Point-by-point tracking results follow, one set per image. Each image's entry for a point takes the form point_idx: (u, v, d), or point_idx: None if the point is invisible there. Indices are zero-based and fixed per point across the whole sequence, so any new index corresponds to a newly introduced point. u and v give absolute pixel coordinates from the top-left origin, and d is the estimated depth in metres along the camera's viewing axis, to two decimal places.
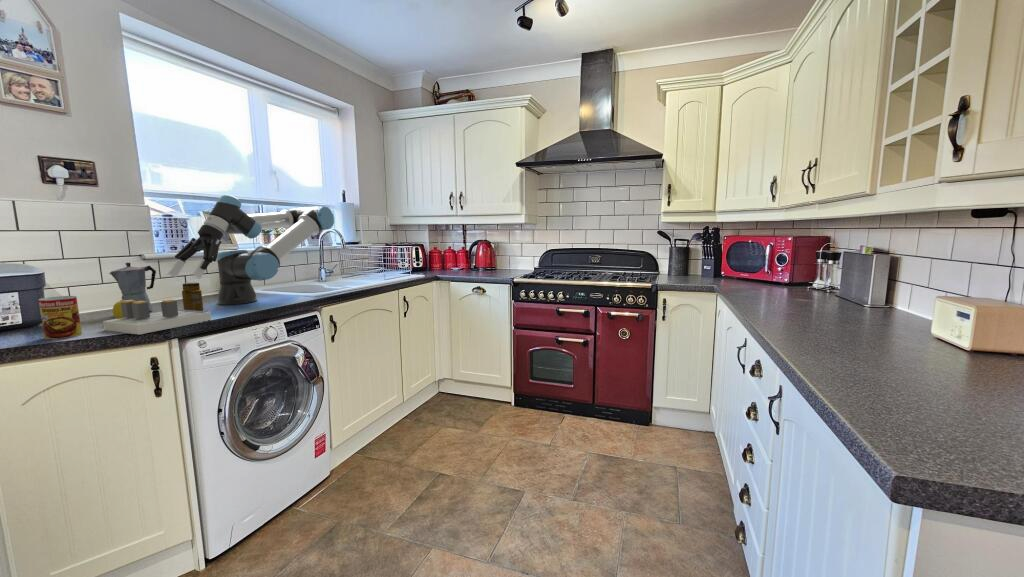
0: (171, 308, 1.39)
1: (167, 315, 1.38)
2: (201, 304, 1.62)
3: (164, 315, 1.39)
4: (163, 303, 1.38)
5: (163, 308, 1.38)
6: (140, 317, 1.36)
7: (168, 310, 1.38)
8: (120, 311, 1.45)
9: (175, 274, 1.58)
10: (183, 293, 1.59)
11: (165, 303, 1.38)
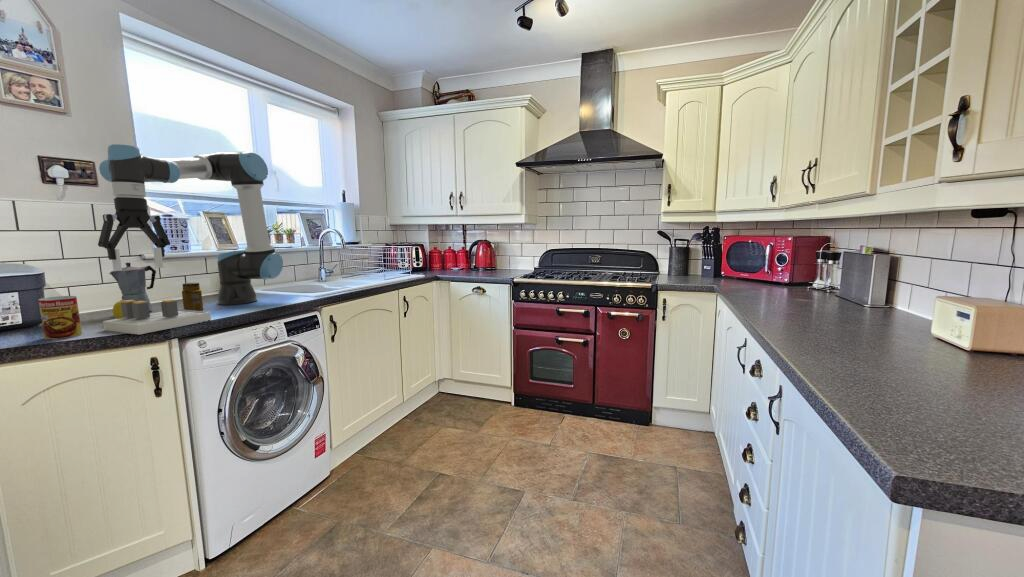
0: (171, 308, 1.39)
1: (167, 315, 1.38)
2: (201, 304, 1.62)
3: (164, 315, 1.39)
4: (163, 303, 1.38)
5: (163, 308, 1.38)
6: (140, 317, 1.36)
7: (168, 310, 1.38)
8: (120, 311, 1.45)
9: None
10: (183, 293, 1.59)
11: (165, 303, 1.38)
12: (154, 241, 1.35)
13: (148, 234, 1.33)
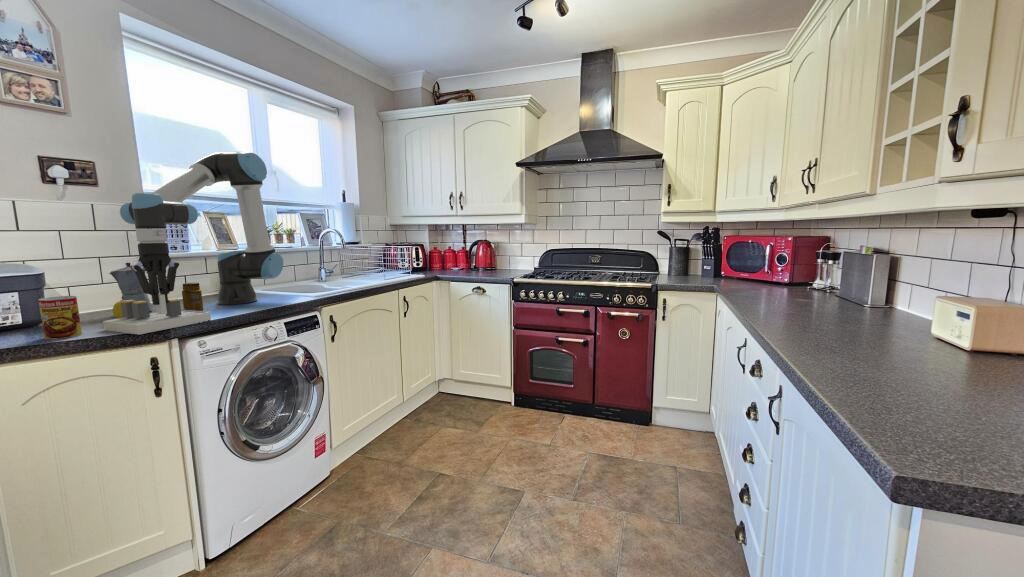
0: (175, 308, 1.40)
1: (170, 314, 1.39)
2: (201, 304, 1.62)
3: (167, 314, 1.40)
4: (166, 303, 1.39)
5: (166, 307, 1.39)
6: (140, 317, 1.36)
7: (171, 310, 1.39)
8: (120, 311, 1.45)
9: None
10: (183, 293, 1.59)
11: (168, 303, 1.39)
12: (161, 286, 1.37)
13: (159, 278, 1.37)
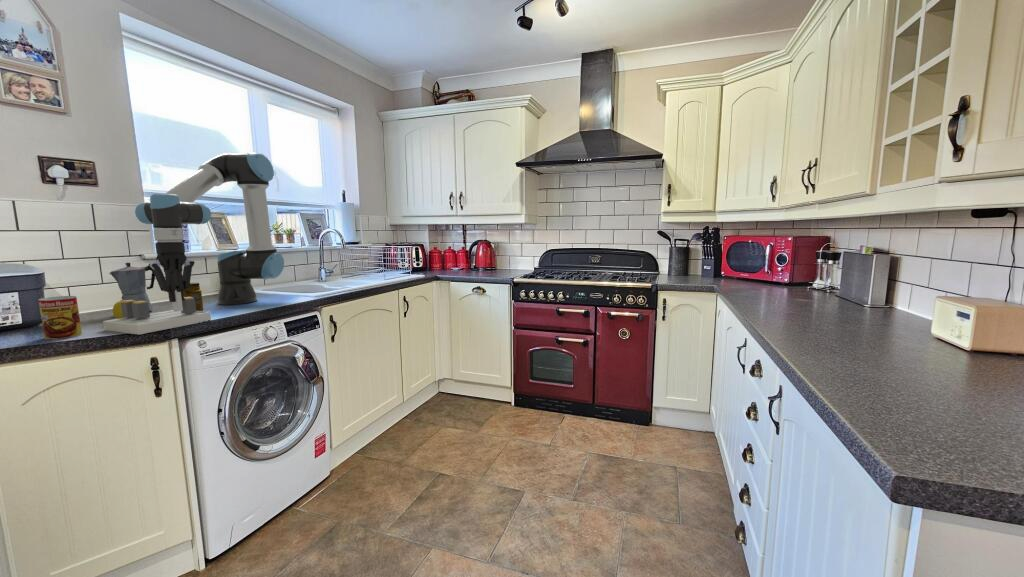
0: (190, 305, 1.44)
1: (186, 312, 1.43)
2: (201, 304, 1.62)
3: (183, 312, 1.44)
4: None
5: (182, 305, 1.44)
6: (140, 317, 1.36)
7: (186, 307, 1.43)
8: (120, 311, 1.45)
9: None
10: (183, 293, 1.59)
11: (184, 300, 1.43)
12: (177, 284, 1.41)
13: (176, 276, 1.41)
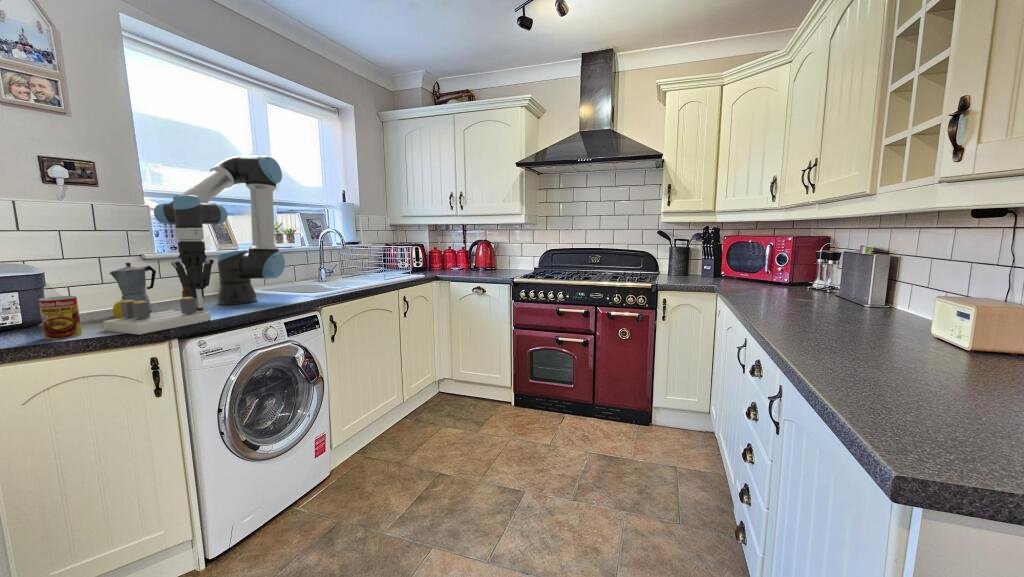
0: (190, 305, 1.44)
1: (186, 312, 1.43)
2: None
3: (183, 312, 1.44)
4: (182, 300, 1.43)
5: (182, 305, 1.44)
6: (140, 317, 1.36)
7: (186, 307, 1.43)
8: (120, 311, 1.45)
9: None
10: (183, 293, 1.59)
11: (184, 300, 1.43)
12: (197, 281, 1.47)
13: (196, 274, 1.47)
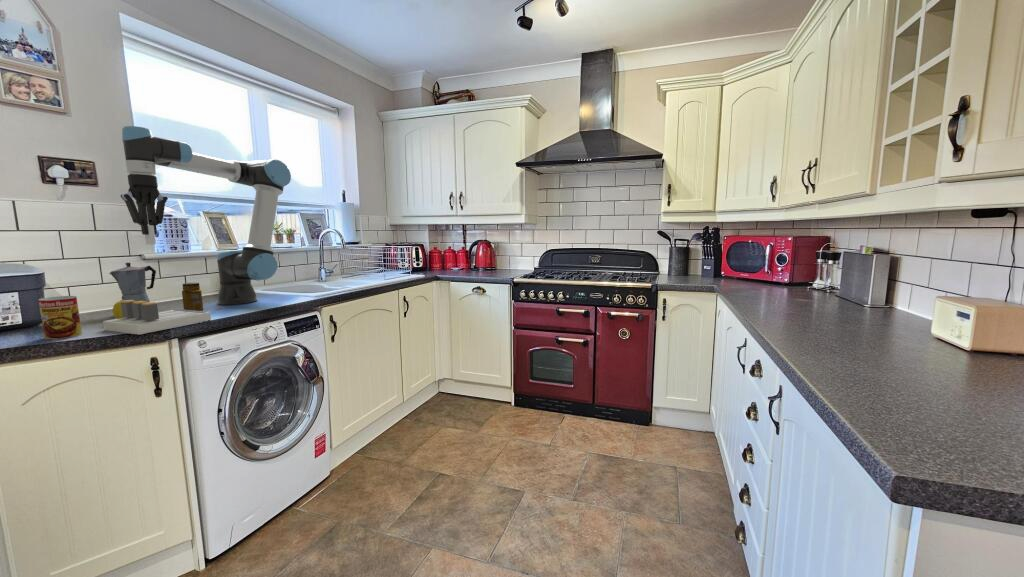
0: (151, 311, 1.33)
1: (147, 318, 1.33)
2: (201, 304, 1.62)
3: (144, 318, 1.33)
4: (143, 306, 1.33)
5: (143, 311, 1.33)
6: (140, 317, 1.36)
7: (147, 313, 1.32)
8: (120, 311, 1.45)
9: None
10: (183, 293, 1.59)
11: (145, 306, 1.32)
12: (150, 217, 1.44)
13: (149, 210, 1.44)
